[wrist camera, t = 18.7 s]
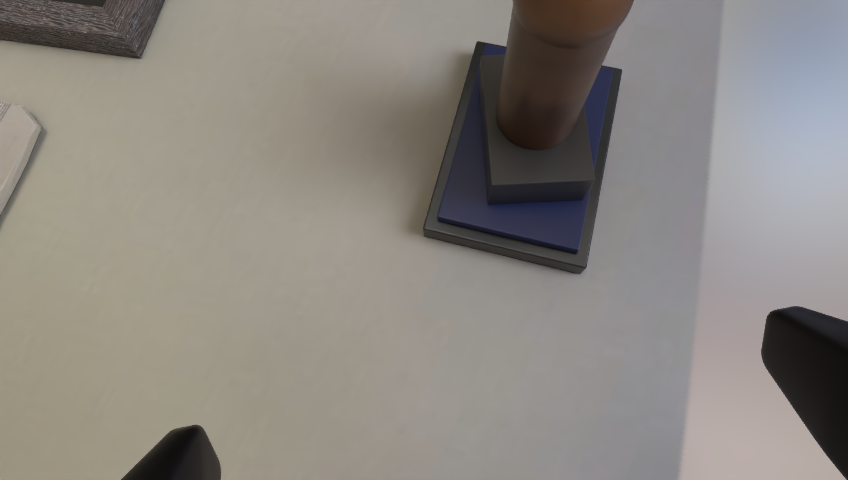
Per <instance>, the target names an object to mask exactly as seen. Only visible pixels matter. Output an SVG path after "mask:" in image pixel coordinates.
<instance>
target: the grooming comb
mask: <svg viewBox="0 0 848 480" xmlns="http://www.w3.org/2000/svg"><path fill="white" fill-rule="evenodd" d="M40 131H41V127H40V125H39V124H38V123H37V122H36V120H35V119H34V118H33V117H32V115H31V114H30V113H29V112H28V110H27V109H26V108H25V107H24V106H21V105H13V104H8V103H3V102H1V103H0V215H1V213H2V211H3V209H4V207H5V205H6V203H7V201H8V200H9V198H10V196H11V194H12V192H13V190H14V188H15V186H16V184H17V182H18V180H19V178H20V176H21V174H22V172H23V170H24V168H25V166H26V164H27V162H28V159H29V157H30V154H31V152H32V150H33V147H34V145H35V143H36V140H37V138H38V135H39V133H40Z"/></svg>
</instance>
